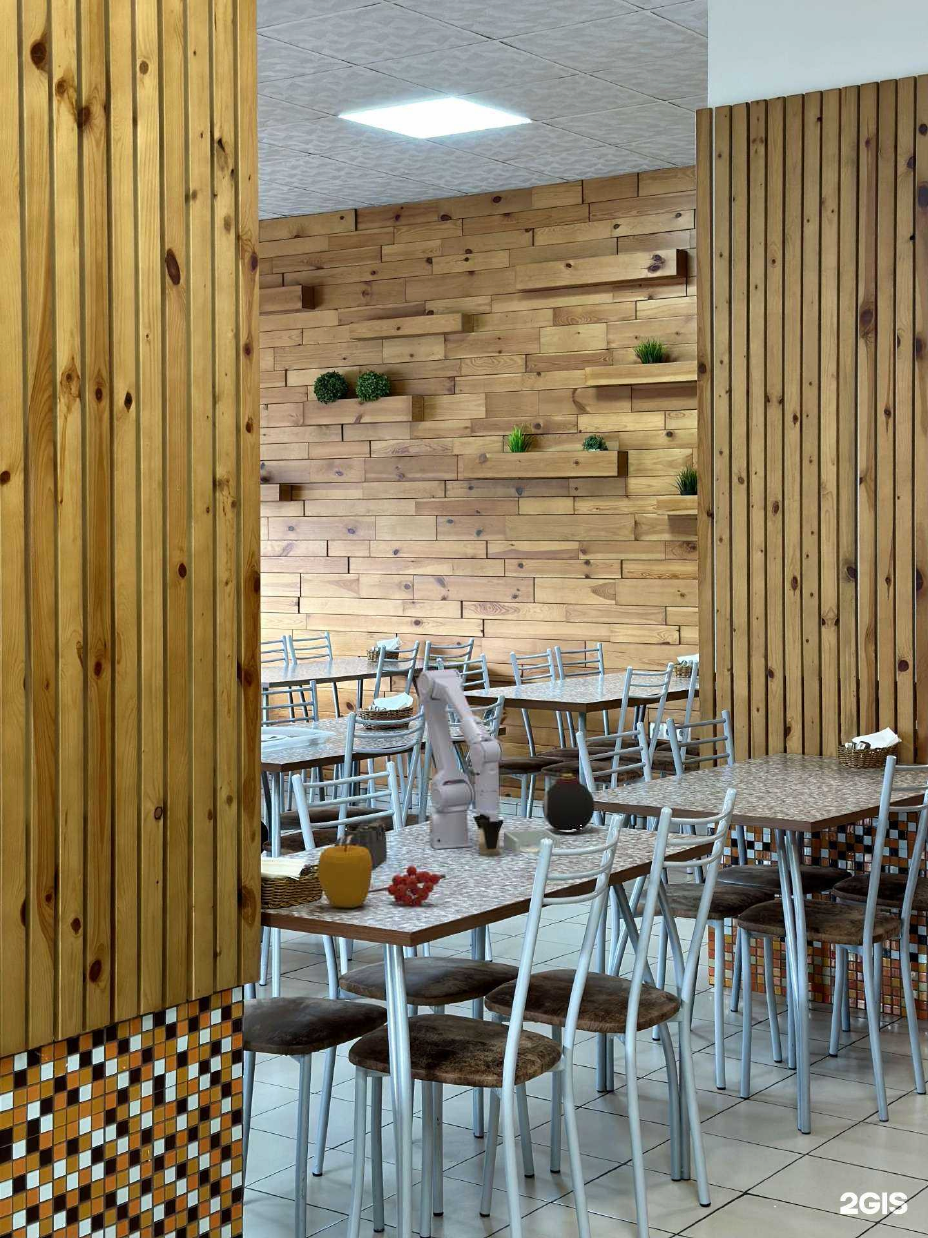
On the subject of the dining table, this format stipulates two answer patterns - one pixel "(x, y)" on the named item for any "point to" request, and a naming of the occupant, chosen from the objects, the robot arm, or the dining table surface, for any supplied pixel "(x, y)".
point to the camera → (368, 841)
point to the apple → (345, 875)
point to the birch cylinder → (482, 845)
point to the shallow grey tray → (528, 840)
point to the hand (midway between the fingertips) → (489, 847)
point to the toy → (568, 804)
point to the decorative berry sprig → (412, 886)
